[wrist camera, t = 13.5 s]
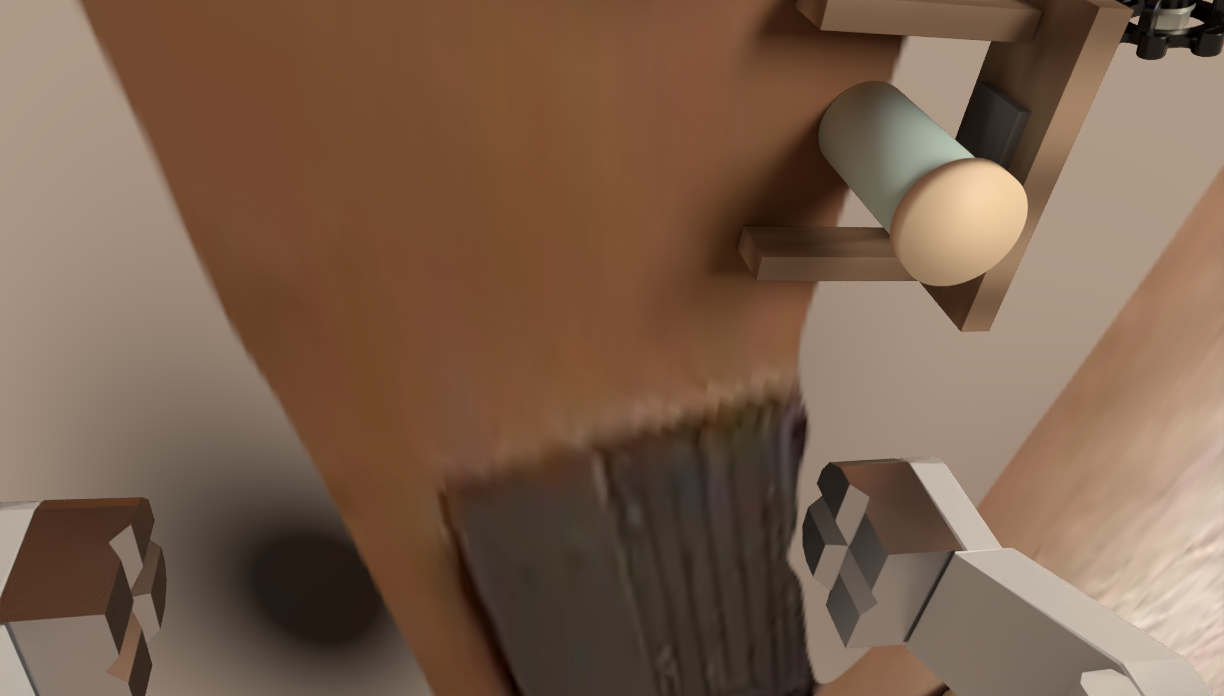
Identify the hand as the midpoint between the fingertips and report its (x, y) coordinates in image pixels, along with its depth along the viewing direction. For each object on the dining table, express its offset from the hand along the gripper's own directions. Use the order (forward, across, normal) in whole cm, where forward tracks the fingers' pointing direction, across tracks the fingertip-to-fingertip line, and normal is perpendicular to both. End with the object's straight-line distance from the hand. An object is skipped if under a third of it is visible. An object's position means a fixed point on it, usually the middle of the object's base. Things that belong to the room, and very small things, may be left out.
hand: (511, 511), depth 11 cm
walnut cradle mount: (+31, -22, +8) cm, 39 cm away
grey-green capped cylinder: (+31, -21, +8) cm, 38 cm away
